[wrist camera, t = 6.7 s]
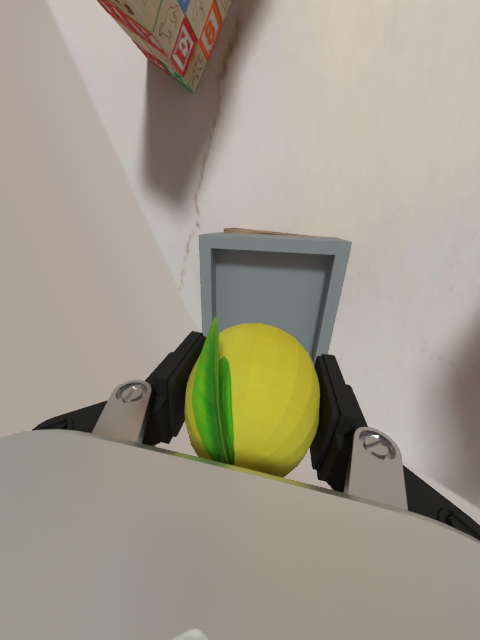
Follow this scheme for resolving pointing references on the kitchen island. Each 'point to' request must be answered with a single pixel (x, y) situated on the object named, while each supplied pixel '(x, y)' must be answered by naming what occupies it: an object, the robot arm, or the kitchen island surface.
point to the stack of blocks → (172, 32)
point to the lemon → (252, 399)
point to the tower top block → (274, 284)
